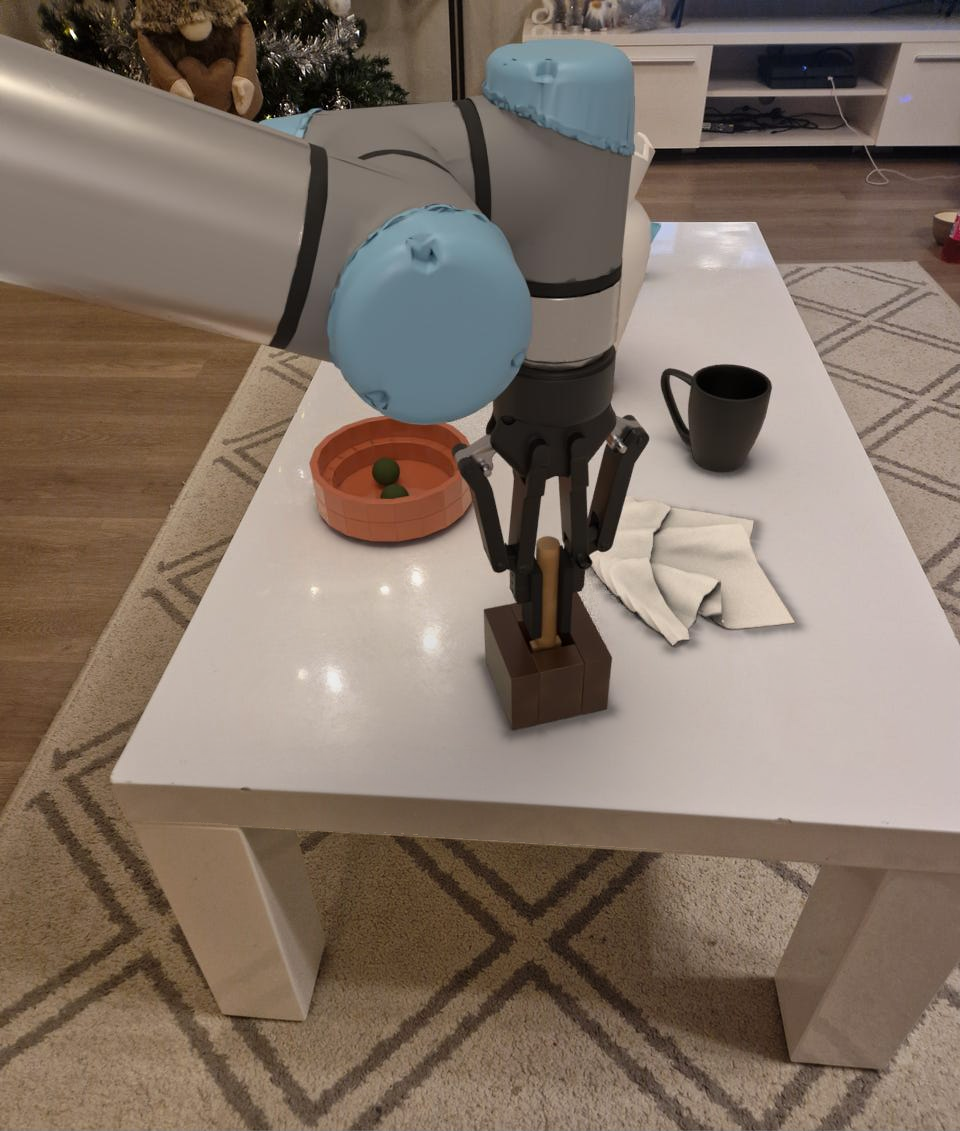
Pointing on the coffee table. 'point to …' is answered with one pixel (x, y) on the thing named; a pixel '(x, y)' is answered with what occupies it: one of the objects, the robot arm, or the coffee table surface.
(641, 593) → the cloth
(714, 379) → the mug
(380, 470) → the ball
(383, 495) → the olive
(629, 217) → the vase
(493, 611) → the holder
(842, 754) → the coffee table surface
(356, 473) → the bowl
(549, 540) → the stick
